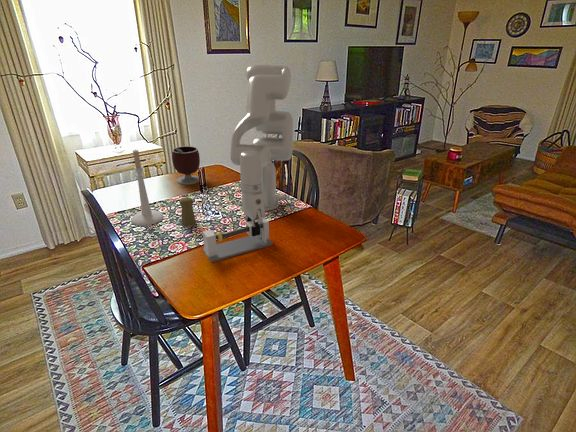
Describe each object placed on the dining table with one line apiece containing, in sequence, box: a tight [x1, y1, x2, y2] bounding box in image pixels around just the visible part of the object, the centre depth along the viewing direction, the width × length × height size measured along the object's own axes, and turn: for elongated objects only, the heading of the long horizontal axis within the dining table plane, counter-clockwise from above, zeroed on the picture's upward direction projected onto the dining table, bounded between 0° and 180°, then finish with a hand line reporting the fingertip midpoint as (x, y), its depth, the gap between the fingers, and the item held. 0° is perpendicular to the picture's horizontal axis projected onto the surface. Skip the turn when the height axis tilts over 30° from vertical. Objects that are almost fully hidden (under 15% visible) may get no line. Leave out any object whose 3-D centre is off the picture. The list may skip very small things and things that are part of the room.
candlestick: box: [130, 149, 164, 227], centre depth 143 cm, size 13×13×30 cm
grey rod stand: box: [202, 218, 274, 263], centre depth 128 cm, size 24×9×9 cm, turn 121°
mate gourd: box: [171, 145, 201, 185], centre depth 185 cm, size 16×14×20 cm
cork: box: [179, 196, 197, 227], centre depth 144 cm, size 6×6×11 cm
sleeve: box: [245, 220, 258, 236], centre depth 130 cm, size 4×4×4 cm
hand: (253, 232), depth 131 cm, fingers closed on sleeve, 4 cm apart
